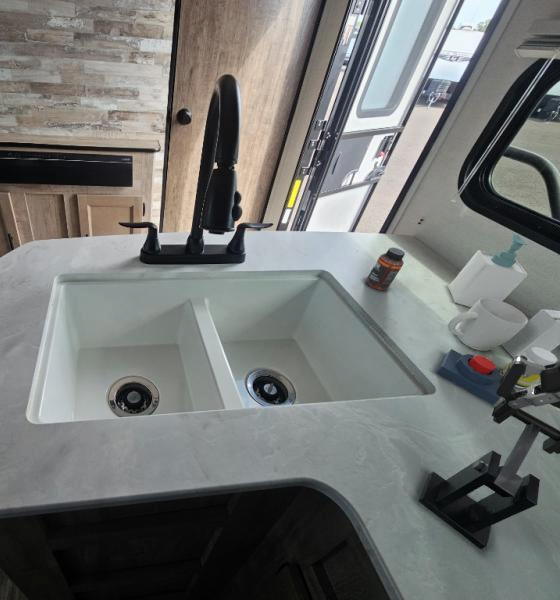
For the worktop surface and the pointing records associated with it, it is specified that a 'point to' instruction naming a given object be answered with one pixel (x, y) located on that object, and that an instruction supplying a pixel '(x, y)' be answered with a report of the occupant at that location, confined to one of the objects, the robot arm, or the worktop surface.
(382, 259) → the supplement bottle
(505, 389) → the robot arm
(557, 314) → the cosmetic box
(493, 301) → the mug
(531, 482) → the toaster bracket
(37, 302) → the worktop surface
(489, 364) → the button
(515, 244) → the soap bottle
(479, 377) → the button housing
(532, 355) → the supplement bottle
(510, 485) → the lever
